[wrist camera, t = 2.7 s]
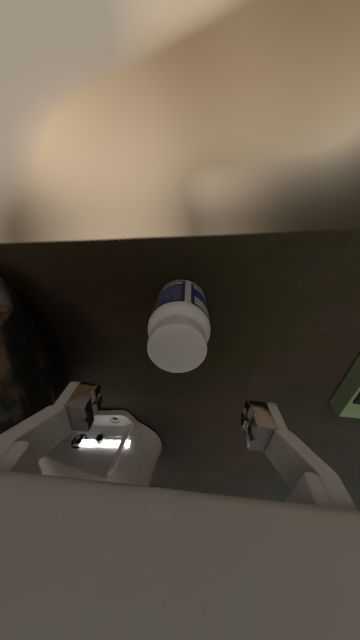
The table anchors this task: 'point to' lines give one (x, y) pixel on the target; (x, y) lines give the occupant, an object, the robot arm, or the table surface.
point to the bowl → (22, 364)
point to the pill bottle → (179, 327)
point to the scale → (348, 393)
